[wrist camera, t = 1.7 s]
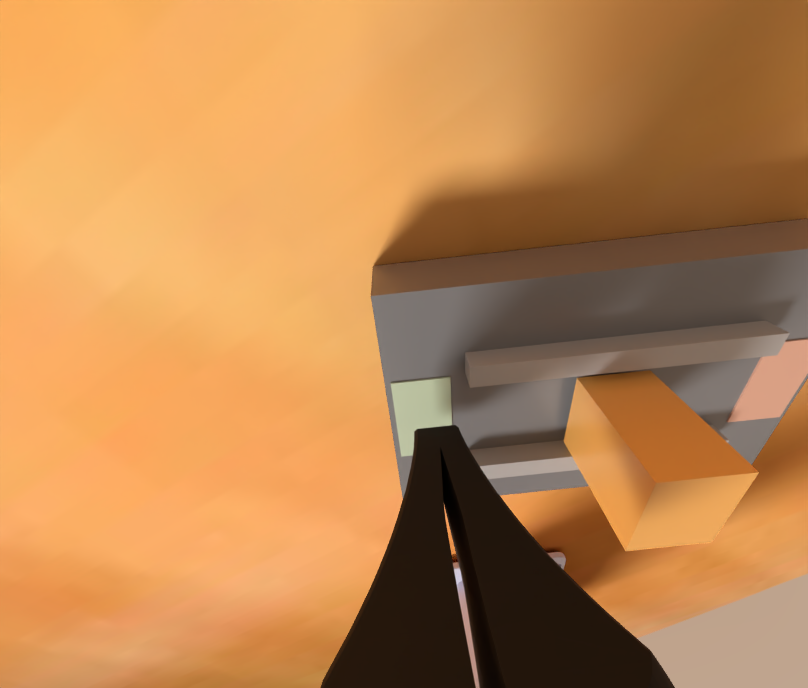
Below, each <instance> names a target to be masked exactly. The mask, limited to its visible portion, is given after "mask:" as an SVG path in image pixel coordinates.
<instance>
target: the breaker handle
mask: <svg viewBox="0 0 808 688" xmlns="http://www.w3.org/2000/svg"><path fill="white" fill-rule="evenodd" d="M564 443H565V445H566V447H567V448H568V450H569V452H570V454H571V455H572V457H573V459H574V461H575V463H576V464H577V466H578V468H579V470H580V471H581V473H582V475H583V477H584V479H585V480H586V482H587V484H588V486H589V487H590V489H591V491H592V493H593V495H594V496H595V498H596V500H597V502H598V503H599V505H600V507H601V509H602V511H603V512H604V514H605V516H606V518H607V519H608V521H609V523H610V525H611V527H612V528H613V530H614V532H615V534H616V535H617V537H618V539H619V541H620V543H621V544H622V546H623V548H624V550H625V551H633V550H643V549H653V548H662V547H672V546H682V545H692V544H702V543H712V542H713V540H714V539H715V537H716V536H717V534H718V533H719V531H720V530H721V528H722V527H723V525H724V524H725V522H726V521H727V519H728V518H729V516H730V515H731V513H732V512H733V511H734V509H735V508H736V506H737V505H738V503H739V502H740V500H741V499H742V497H743V496H744V494H745V493H746V491H747V490H748V488H749V487H750V485H751V484H752V482H753V481H754V479H755V478H756V476H757V475H758V474H759V472H758V471H757V470H756V469H755V468H754V467H753V466H752V465H751V464H750V463H749V462H748V461H747V460H746V459H745V458H743V457H742V456H741V455H740V454H739V453H738V452H737V451H736V450H735V449H734V448H733V447H732V446H731V445H730V444H728V443H727V442H726V441H725V440H724V439H723V438H722V437H721V436H720V435H719V434H718V433H717V432H716V431H715V430H714V429H712V428H711V427H710V426H709V425H708V424H707V423H706V422H705V421H704V420H703V419H702V418H701V417H700V416H699V415H697V414H696V413H695V412H694V411H693V410H692V409H691V408H690V407H689V406H688V405H687V404H686V403H685V402H684V401H683V400H681V399H680V398H679V397H678V396H677V395H676V394H675V393H674V392H673V391H672V390H671V389H670V388H669V387H668V386H666V385H665V384H664V383H663V382H662V381H661V380H660V379H659V378H658V377H657V376H656V375H655V374H654V373H653V372H652V371H650V370H647V371H637V372H628V373H618V374H609V375H600V376H590V377H581V378H577V380H576V384H575V389H574V394H573V399H572V404H571V408H570V413H569V418H568V423H567V428H566V432H565V437H564Z"/></svg>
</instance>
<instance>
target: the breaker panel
mask: <svg viewBox="0 0 808 688" xmlns="http://www.w3.org/2000/svg"><path fill="white" fill-rule="evenodd" d="M371 300H372V306H373V312H374V319H375V325H376V331H377V338H378V344H379V350H380V357H381V363H382V369H383V376H384V382H385V388H386V395H387V401H388V407H389V414H390V420H391V426H392V433H393V439H394V445H395V452H396V458H397V464H398V471H399V477H400V484H401V490H402V496H403V498H404V494H405V491H406V487H407V482H408V478H409V473H410V469H411V463H412V457H413V450H414V431H416V430H417V429H421V428H430V427H440V426H449V425H456V426H457V427H459V430H460V432H461V434H462V436H463V438H464V440H465V442H466V444H467V446H468V448H469V450H470V451H471V453H472V455H473V456H474V458H475V460H476V462H477V463H478V465H479V466H480V468H481V469H482V471H483V472H484V474H485V475H486V477H487V478H488V480H489V481H490V483H491V484H492V486H493V487H494V489H495V490H496V491H497V493H498V494H499V495H508V494H517V493H527V492H537V491H546V490H556V489H566V488H575V487H585V486H588V484H587V482H586V480H585V479H584V477H583V475H582V473H581V471H580V470H579V468H578V466H577V464H576V463H575V461H574V459H573V457H572V455H571V454H570V452H569V450H568V448H567V447H566V445H565V443H564V437H565V432H566V428H567V423H568V418H569V413H570V408H571V404H572V399H573V394H574V389H575V384H576V380H577V378H581V377H590V376H600V375H609V374H618V373H628V372H637V371H647V370H650V371H652V372H653V373H654V374H655V375H656V376H657V377H658V378H659V379H660V380H661V381H662V382H663V383H664V384H665V385H666V386H668V387H669V388H670V389H671V390H672V391H673V392H674V393H675V394H676V395H677V396H678V397H679V398H680V399H681V400H683V401H684V402H685V403H686V404H687V405H688V406H689V407H690V408H691V409H692V410H693V411H694V412H695V413H696V414H697V415H699V416H700V417H701V418H702V419H703V420H704V421H705V422H706V423H707V424H708V425H709V426H710V427H711V428H712V429H714V430H715V431H716V432H717V433H718V434H719V435H720V436H721V437H722V438H723V439H724V440H725V441H726V442H727V443H728V444H730V445H731V446H732V447H733V448H734V449H735V450H736V451H737V452H738V453H739V454H740V455H741V456H742V457H743V458H745V459H746V460H747V461H748V462H749V463H750V464H751V465H752V463H753V462H754V460H755V459H756V457H757V456H758V454H759V453H760V451H761V450H762V448H763V446H764V445H765V443H766V442H767V440H768V439H769V437H770V436H771V434H772V433H773V431H774V429H775V428H776V426H777V425H778V423H779V422H780V420H781V419H782V417H783V416H784V414H785V412H786V411H787V409H788V408H789V406H790V405H791V403H792V402H793V400H794V399H795V397H796V395H797V394H798V392H799V391H800V389H801V388H802V386H803V385H804V383H805V382H806V380H807V378H808V219H799V220H790V221H780V222H771V223H762V224H753V225H744V226H735V227H725V228H716V229H707V230H698V231H689V232H679V233H670V234H661V235H652V236H643V237H634V238H624V239H615V240H606V241H597V242H588V243H579V244H569V245H560V246H551V247H542V248H533V249H523V250H514V251H505V252H496V253H487V254H478V255H468V256H459V257H450V258H441V259H432V260H423V261H413V262H404V263H395V264H386V265H377V266H373V273H372V288H371Z"/></svg>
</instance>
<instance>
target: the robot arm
mask: <svg viewBox="0 0 808 688" xmlns="http://www.w3.org/2000/svg"><path fill="white" fill-rule="evenodd" d="M444 505H445V509H446V513H447V518H448V522H449V526H450V530H451V534H452V538H453V542H454V547H455V551H456V555H457V559H458V562H454V563H453V561H452V556H451V550H450V544H449V538H448V532H447V527H446V521H445V512H444ZM565 563H566V558H565V556H564V554H563V553H561V552H552V553H547V552H546V551H545V550H544V549H543V548H542V547H541V546H540V545H539V543H538V542H537V541H536V540H535V539H534V538H533V537H532V536H531V534H530V533H529V532H528V531H527V530H526V529H525V527H524V526H523V525H522V524H521V523H520V521H519V520H518V519H517V518H516V516H515V515H514V514H513V513H512V511H511V510H510V509H509V508H508V506H507V505H506V504H505V502H504V501H503V500H502V498H501V497H500V496H499V494H498V493H497V491H496V490H495V489H494V487H493V486H492V484H491V483H490V481H489V480H488V478H487V477H486V475H485V474H484V472H483V471H482V469H481V468H480V466H479V465H478V463H477V462H476V460H475V458H474V456H473V455H472V453H471V451H470V450H469V448H468V446H467V444H466V442H465V440H464V438H463V436H462V434H461V432H460V430H459V427H457V426H456V425H449V426H440V427H430V428H421V429H417V430H416V431H414V450H413V457H412V463H411V469H410V473H409V478H408V482H407V487H406V491H405V494H404V498H403V501H402V505H401V508H400V511H399V515H398V518H397V521H396V524H395V527H394V530H393V533H392V536H391V539H390V541H389V544H388V547H387V549H386V552H385V554H384V557H383V559H382V562H381V564H380V567H379V569H378V571H377V574H376V576H375V579H374V581H373V583H372V585H371V588H370V590H369V592H368V594H367V596H366V598H365V600H364V602H363V604H362V607H361V609H360V611H359V613H358V615H357V617H356V619H355V621H354V623H353V625H352V627H351V629H350V631H349V633H348V635H347V637H346V639H345V641H344V642H343V644H342V646H341V648H340V650H339V652H338V653H337V655H336V657H335V659H334V661H333V663H332V664H331V666H330V668H329V670H328V672H327V674H326V676H325V677H324V679H323V682H322V685H321V688H675V687H674V686H673V684H672V682H671V681H670V679H669V678H668V676H667V674H666V673H665V671H664V670H663V668H662V667H661V665H660V664H659V662H658V661H657V659H656V658H655V656H654V655H653V653H652V652H651V651H650V650H649V649H648V648H647V647H646V646H645V645H643V644H642V643H641V642H640V641H639V640H638V639H637V638H636V637H634V636H633V635H632V634H631V633H630V632H629V631H627V630H626V629H625V628H624V627H623V626H622V625H621V624H620V623H618V622H617V621H616V620H615V619H614V618H613V617H612V616H611V615H610V614H608V613H607V612H606V611H605V610H604V609H603V608H602V607H601V606H600V605H599V604H598V603H597V602H596V601H594V600H593V599H592V598H591V597H590V596H589V595H588V594H587V593H586V592H585V591H584V590H583V589H582V588H581V587H580V586H579V585H578V584H577V583H576V582H575V581H574V580H573V579H572V578H571V577H570V576H569V575H568V574H567V573H566V572H565V571H564V570H563V569H564V566H565Z"/></svg>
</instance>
